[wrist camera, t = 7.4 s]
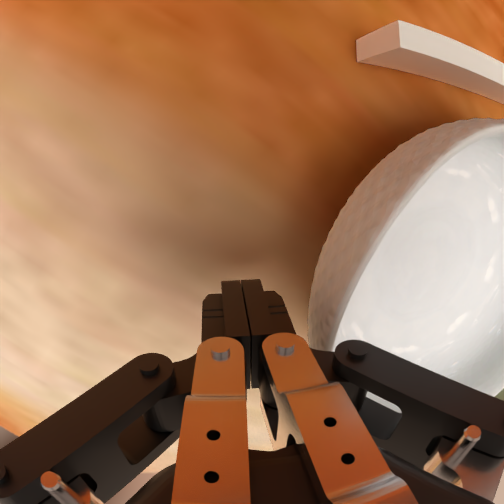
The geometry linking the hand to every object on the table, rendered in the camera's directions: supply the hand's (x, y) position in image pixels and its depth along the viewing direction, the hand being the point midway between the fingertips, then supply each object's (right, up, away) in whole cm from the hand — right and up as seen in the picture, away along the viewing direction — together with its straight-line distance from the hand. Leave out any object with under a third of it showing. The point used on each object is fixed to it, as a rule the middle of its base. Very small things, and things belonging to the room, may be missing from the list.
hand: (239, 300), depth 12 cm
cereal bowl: (+10, +2, +5) cm, 11 cm away
